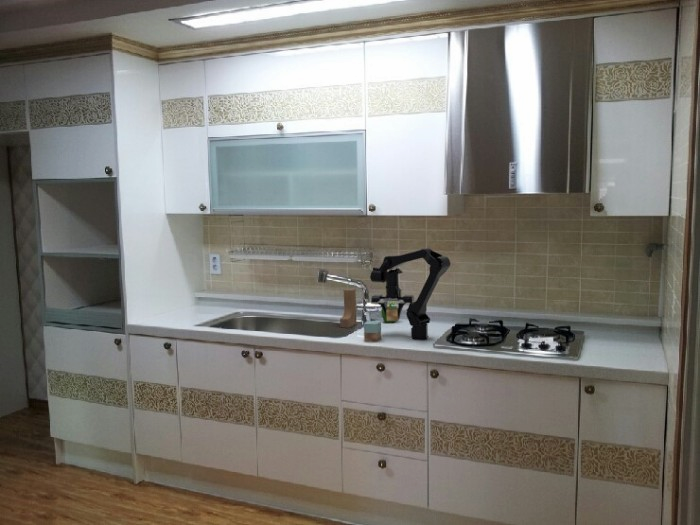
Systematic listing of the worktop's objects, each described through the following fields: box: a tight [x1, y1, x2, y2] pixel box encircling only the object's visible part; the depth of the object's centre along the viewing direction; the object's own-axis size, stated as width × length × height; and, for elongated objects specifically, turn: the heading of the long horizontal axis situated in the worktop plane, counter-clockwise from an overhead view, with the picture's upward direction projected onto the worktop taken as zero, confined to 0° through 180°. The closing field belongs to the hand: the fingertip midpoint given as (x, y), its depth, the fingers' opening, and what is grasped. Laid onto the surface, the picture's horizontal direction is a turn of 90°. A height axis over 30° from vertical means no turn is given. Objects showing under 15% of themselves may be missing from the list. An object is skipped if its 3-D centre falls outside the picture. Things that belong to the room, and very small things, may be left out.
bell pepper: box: [381, 302, 398, 324], centre depth 311 cm, size 8×8×10 cm
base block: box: [363, 330, 382, 343], centre depth 273 cm, size 6×6×4 cm
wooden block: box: [339, 288, 358, 329], centre depth 305 cm, size 9×4×18 cm, turn 150°
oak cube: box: [386, 308, 401, 322], centre depth 280 cm, size 5×5×5 cm
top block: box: [363, 320, 382, 334], centre depth 272 cm, size 6×6×4 cm
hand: (393, 317), depth 281 cm, fingers closed on oak cube, 5 cm apart
